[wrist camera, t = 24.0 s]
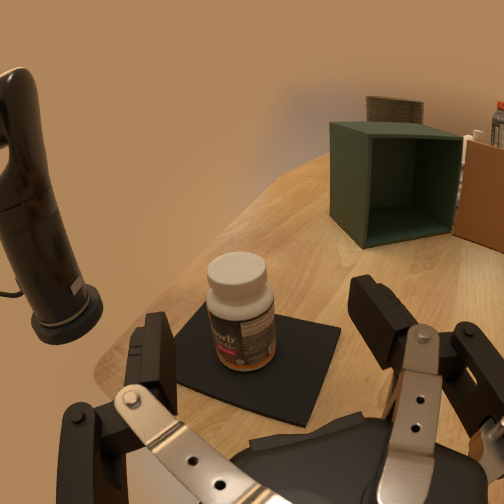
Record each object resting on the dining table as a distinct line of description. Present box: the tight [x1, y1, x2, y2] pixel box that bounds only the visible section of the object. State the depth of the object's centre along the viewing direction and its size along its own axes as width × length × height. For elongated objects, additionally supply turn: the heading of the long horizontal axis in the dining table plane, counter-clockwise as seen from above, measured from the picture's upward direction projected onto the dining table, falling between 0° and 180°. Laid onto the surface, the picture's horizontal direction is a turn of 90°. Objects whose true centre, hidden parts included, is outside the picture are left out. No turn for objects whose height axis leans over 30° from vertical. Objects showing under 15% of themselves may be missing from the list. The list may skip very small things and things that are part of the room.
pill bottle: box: [206, 252, 276, 371], centre depth 27 cm, size 6×6×10 cm
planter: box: [366, 96, 424, 125], centre depth 99 cm, size 22×22×20 cm
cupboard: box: [329, 122, 464, 249], centre depth 47 cm, size 13×19×17 cm
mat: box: [174, 302, 341, 428], centre depth 29 cm, size 16×12×1 cm
